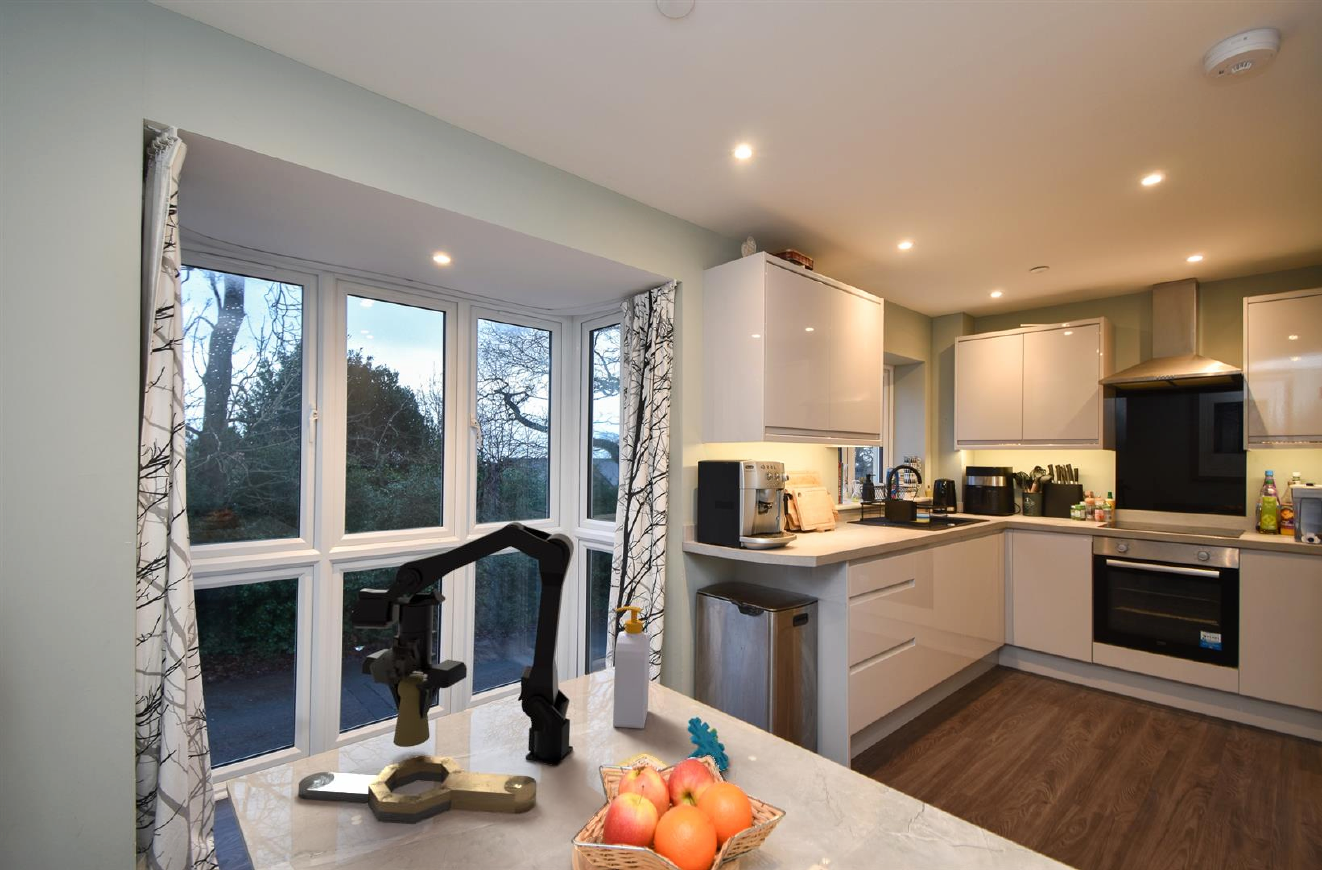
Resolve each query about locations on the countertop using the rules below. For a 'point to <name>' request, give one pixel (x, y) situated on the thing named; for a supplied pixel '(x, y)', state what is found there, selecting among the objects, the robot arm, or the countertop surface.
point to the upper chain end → (454, 789)
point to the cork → (410, 714)
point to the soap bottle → (631, 674)
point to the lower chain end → (356, 791)
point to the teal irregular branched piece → (706, 742)
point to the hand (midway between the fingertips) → (412, 715)
